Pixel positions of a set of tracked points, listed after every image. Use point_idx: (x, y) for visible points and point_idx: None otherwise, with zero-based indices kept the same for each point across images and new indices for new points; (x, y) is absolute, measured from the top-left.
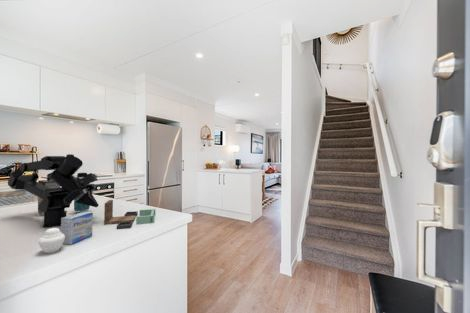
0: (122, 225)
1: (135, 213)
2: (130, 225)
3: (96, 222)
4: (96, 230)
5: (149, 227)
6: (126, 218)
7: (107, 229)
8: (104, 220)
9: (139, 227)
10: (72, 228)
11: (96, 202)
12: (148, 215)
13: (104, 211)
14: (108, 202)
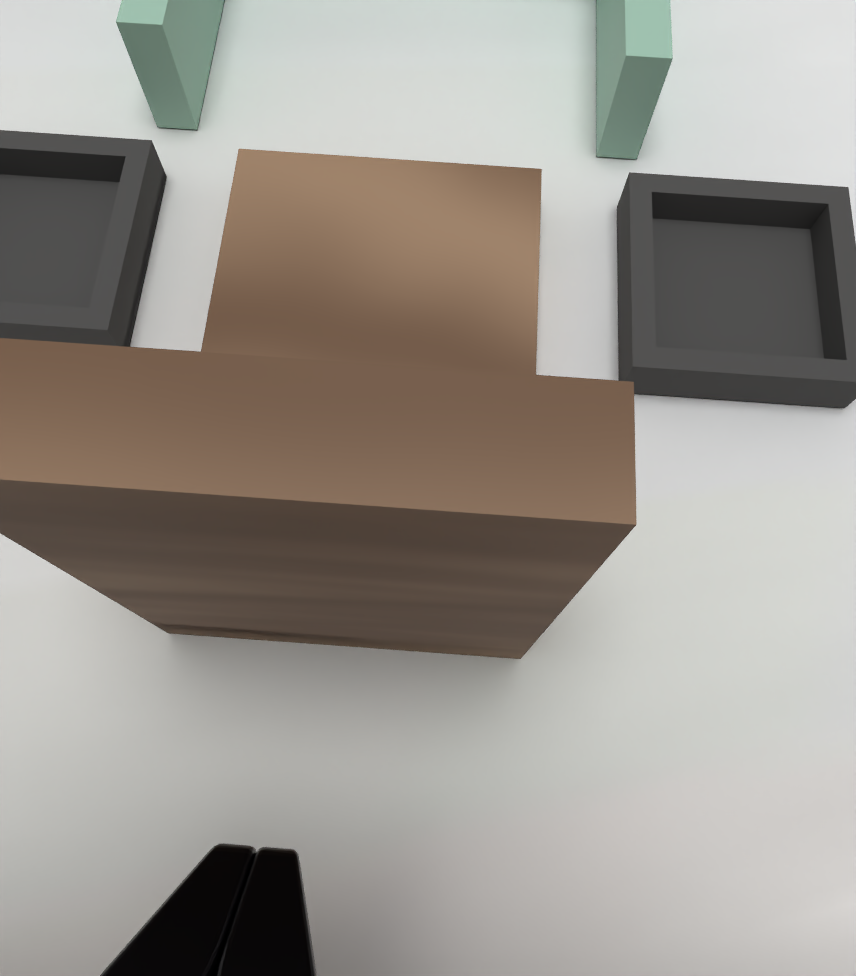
0: (851, 298)
1: (98, 153)
2: (844, 194)
3: None
4: (851, 734)
5: (840, 8)
6: (399, 277)
7: (827, 549)
8: (531, 641)
9: (815, 116)
10: None
11: (190, 968)
12: (217, 3)
13: (567, 600)
14: (470, 414)
